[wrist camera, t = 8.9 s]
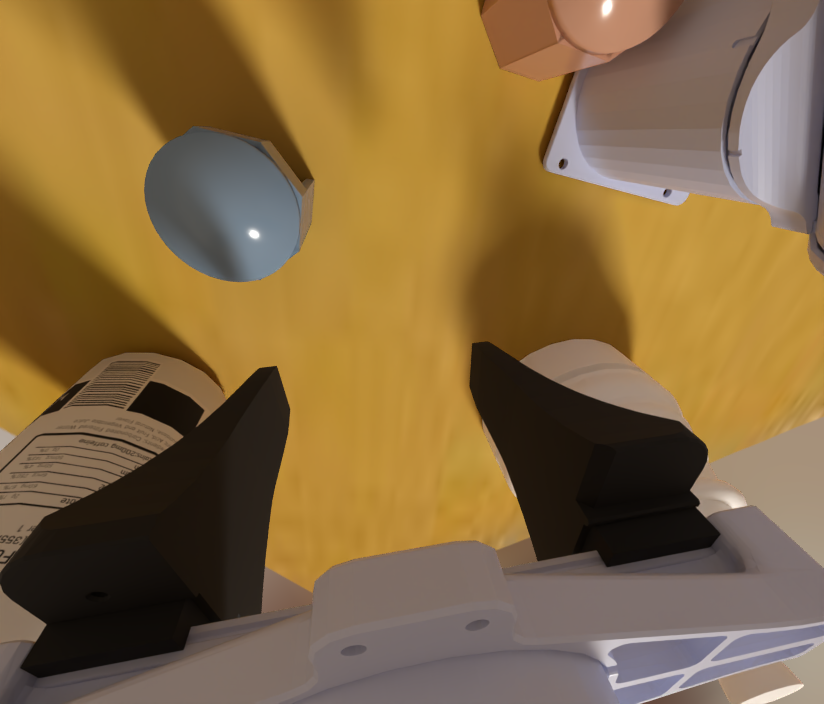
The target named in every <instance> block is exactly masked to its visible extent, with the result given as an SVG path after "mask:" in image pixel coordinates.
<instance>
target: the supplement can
mask: <svg viewBox="0 0 824 704" xmlns="http://www.w3.org/2000/svg"><path fill="white" fill-rule="evenodd" d="M225 401H226V398H225V396H224V394H223V392H222V390H221V388H220V387H219V386H218V385H217V384H216V383H215V382H214V381H213V380H212V379H211V378H210V377H209V376H208V375H207V374H206V373H205V372H203V371H201V370H199V369H197V368H195V367H193V366H192V365H190V364H188V363H186V362H184V361H182V360H180V359H176V358H172V357H168V356H164V355H160V354H156V353H123V354H120V355H117V356H113V357H110V358H106V359H103V360H102V361H100V362H99V363H98V364H97V365H95V366H94V367H93V368H92V369H91V370H89V371H88V372H87V373H86V374H85V375H84V376H83V377H81V378H80V379H79V380H78V381H77V382H76V383H75V384H74V385H73V386H72V387H70V388H69V389H68V390H67V391H66V392H65V393H64V394H63V395H62V396H61V397H60V398H58V399H57V400H56V401H55V402H54V403H53V404H52V405H51V406H50V407H49V408H47V409H46V410H45V411H44V412H43V413H42V414H41V415H40V416H39V417H38V418H36V419H35V420H34V421H33V422H32V423H31V424H30V425H29V426H28V427H27V428H25V429H24V430H23V431H22V432H21V433H20V434H19V435H18V436H17V437H16V438H14V439H13V440H12V441H11V442H10V443H9V444H8V445H7V446H6V447H5V448H4V449H3V450H1V451H0V572H1V570H2V569H3V568H4V567H5V565H6V564H7V563H8V562H9V560H10V559H11V558H12V557H13V555H14V554H15V553H16V552H17V550H18V549H19V548H20V546H21V545H22V544H23V543H24V541H25V540H26V539H27V538H28V536H29V535H30V534H31V533H32V531H33V530H34V529H35V528H36V526H37V525H38V524H39V523H40V521H41V520H42V519H43V518H44V517H45V516H47V515H49V514H51V513H53V512H56V511H58V510H60V509H62V508H64V507H66V506H68V505H70V504H72V503H74V502H76V501H78V500H80V499H82V498H84V497H86V496H88V495H90V494H92V493H94V492H96V491H98V490H100V489H101V488H103V487H105V486H107V485H109V484H111V483H112V482H114V481H116V480H118V479H120V478H121V477H123V476H125V475H126V474H128V473H130V472H132V471H133V470H135V469H137V468H138V467H140V466H142V465H143V464H145V463H146V462H148V461H149V460H151V459H152V458H154V457H155V456H157V455H158V454H160V453H161V452H163V451H164V450H166V449H167V448H169V447H170V446H172V445H173V444H175V443H176V442H177V441H179V440H180V439H181V438H183V437H184V436H185V435H187V434H188V433H189V432H191V431H192V430H193V429H194V428H196V427H197V426H198V425H199V424H201V423H202V422H203V421H204V420H205V419H206V418H207V417H209V416H210V415H211V414H212V413H213V412H214V411H215V410H216V409H217V408H219V407H220V406H221V405H222V404H223V403H224V402H225ZM46 625H47V624H45V623H44V622H43V621H41V620H40V619H38V618H37V617H35V616H34V615H32V614H31V613H29V612H28V611H27V610H25V609H24V608H22V607H21V606H19V605H18V604H16V603H15V602H13V601H12V600H11V599H10V598H9V597H8V596H7V595H5V594H4V593H3V591H2V588H1V585H0V643H3V642H8V641H14V640H30V641H35V642H36V641H37V639H38V638H39V636H40V634H41V633H42V631H43V629H44V628H45V626H46Z"/></svg>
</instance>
